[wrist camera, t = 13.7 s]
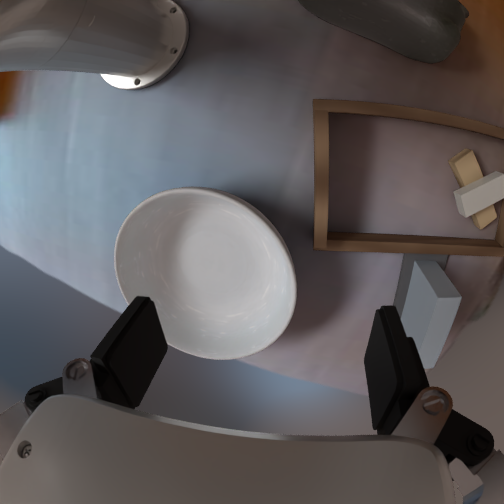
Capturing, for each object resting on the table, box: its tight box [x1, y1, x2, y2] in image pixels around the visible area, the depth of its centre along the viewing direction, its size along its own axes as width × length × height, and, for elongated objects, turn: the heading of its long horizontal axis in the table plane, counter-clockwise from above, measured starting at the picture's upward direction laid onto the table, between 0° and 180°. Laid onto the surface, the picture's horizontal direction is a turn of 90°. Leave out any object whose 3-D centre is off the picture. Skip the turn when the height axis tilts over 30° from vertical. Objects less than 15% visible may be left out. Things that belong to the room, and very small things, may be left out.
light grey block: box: [401, 260, 462, 369], centre depth 28 cm, size 10×3×8 cm, turn 3°
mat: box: [393, 253, 448, 319], centre depth 32 cm, size 13×6×1 cm, turn 3°
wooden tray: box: [313, 99, 504, 257], centre depth 25 cm, size 15×26×4 cm, turn 93°
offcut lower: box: [448, 149, 497, 230], centre depth 25 cm, size 9×3×2 cm, turn 39°
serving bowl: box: [114, 187, 297, 360], centre depth 33 cm, size 21×21×7 cm
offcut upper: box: [453, 171, 504, 218], centre depth 23 cm, size 7×3×2 cm, turn 120°
